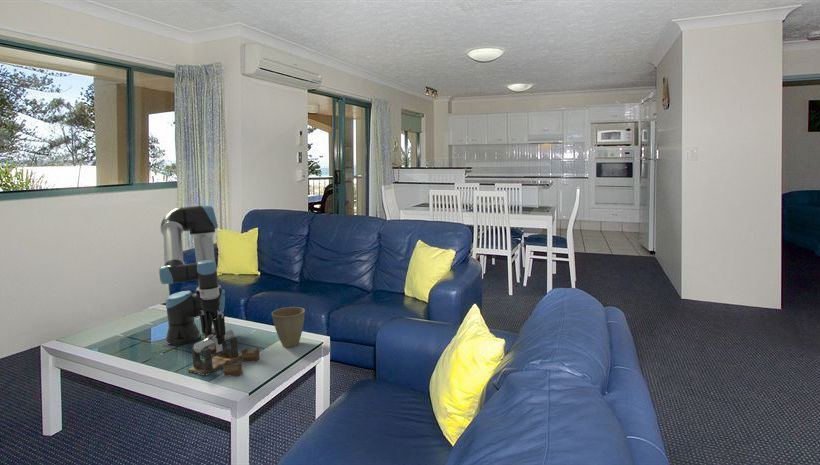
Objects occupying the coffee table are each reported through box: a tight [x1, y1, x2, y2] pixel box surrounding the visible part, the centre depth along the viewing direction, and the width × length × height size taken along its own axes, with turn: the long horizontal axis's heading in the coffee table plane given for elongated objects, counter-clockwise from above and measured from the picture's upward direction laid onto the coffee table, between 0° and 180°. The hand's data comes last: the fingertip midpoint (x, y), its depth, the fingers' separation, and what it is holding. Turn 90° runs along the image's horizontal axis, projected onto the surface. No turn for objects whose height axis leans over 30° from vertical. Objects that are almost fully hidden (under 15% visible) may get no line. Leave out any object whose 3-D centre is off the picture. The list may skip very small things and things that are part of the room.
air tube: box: [192, 328, 235, 353], centre depth 213 cm, size 18×4×4 cm, turn 152°
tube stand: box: [222, 346, 261, 377], centre depth 210 cm, size 17×7×5 cm, turn 167°
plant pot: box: [271, 306, 306, 348], centre depth 233 cm, size 15×15×16 cm
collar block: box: [187, 336, 242, 376], centre depth 214 cm, size 10×21×10 cm, turn 153°
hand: (215, 350), depth 214 cm, fingers closed on air tube, 4 cm apart
